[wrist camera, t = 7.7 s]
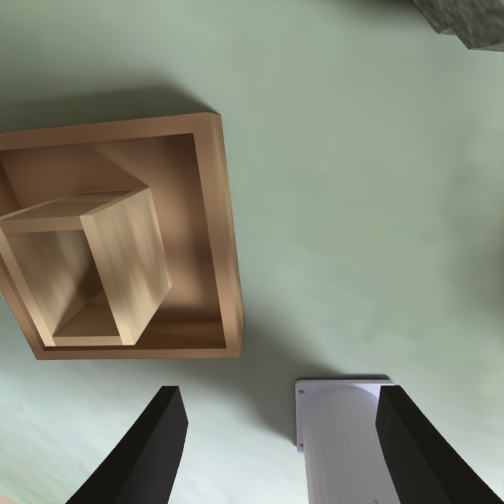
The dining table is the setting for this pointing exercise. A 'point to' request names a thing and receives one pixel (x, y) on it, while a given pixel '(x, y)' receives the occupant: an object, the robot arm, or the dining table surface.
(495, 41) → the mortar and pestle
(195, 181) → the large crate
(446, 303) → the dining table surface
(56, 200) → the small crate
